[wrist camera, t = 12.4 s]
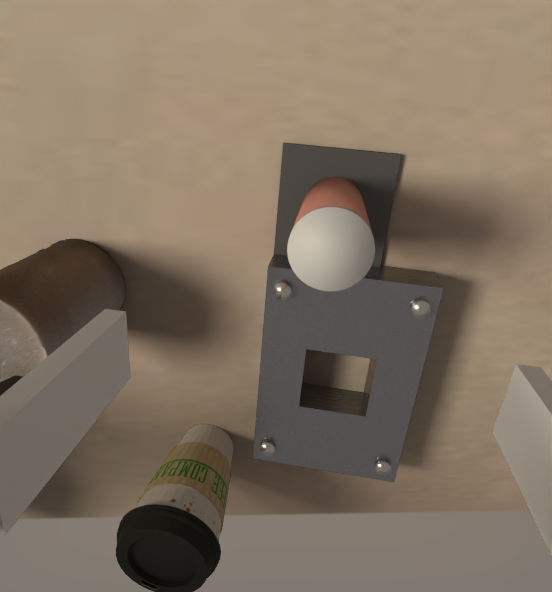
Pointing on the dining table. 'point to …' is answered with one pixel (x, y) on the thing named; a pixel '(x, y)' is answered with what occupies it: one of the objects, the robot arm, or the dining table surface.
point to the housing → (348, 341)
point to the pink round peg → (331, 237)
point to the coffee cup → (179, 515)
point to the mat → (336, 163)
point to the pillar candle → (53, 301)
